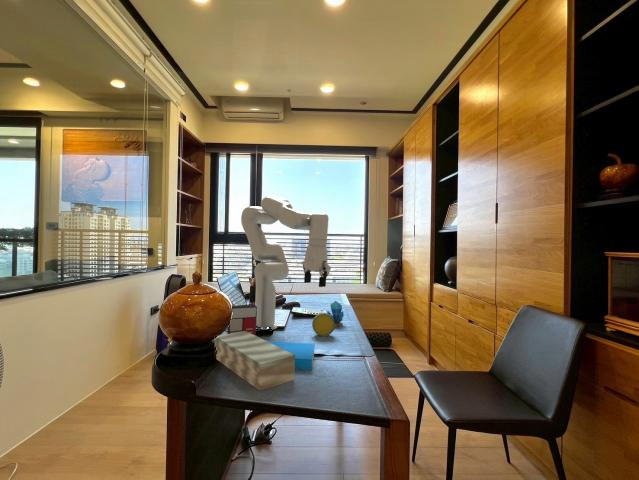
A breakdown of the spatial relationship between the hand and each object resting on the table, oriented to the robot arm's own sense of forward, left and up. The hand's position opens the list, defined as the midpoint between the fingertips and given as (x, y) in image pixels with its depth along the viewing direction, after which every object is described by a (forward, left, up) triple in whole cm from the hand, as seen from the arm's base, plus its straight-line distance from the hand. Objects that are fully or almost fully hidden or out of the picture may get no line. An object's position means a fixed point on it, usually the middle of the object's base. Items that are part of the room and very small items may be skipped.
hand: (314, 284), depth 132 cm
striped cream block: (+7, -32, -24) cm, 41 cm away
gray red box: (-17, -23, -25) cm, 38 cm away
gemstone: (-16, +29, -25) cm, 41 cm away
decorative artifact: (-8, +13, -25) cm, 29 cm away
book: (+6, -21, -25) cm, 33 cm away
